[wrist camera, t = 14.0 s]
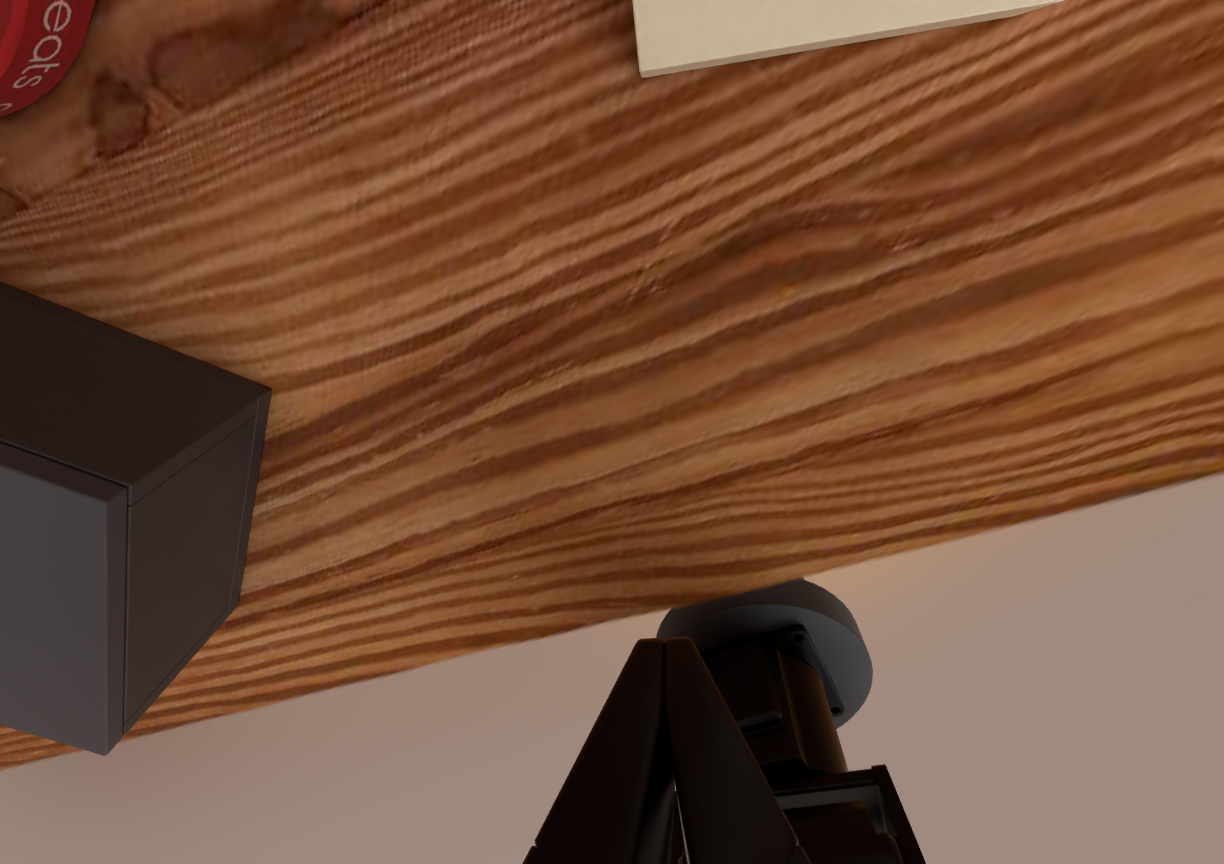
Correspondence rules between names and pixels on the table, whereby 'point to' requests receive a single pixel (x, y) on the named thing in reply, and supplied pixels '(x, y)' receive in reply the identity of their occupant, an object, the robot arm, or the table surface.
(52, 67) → the headphones
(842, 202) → the table surface
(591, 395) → the table surface
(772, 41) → the control block
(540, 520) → the table surface
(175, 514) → the open hinged box
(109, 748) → the box lid
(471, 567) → the table surface
